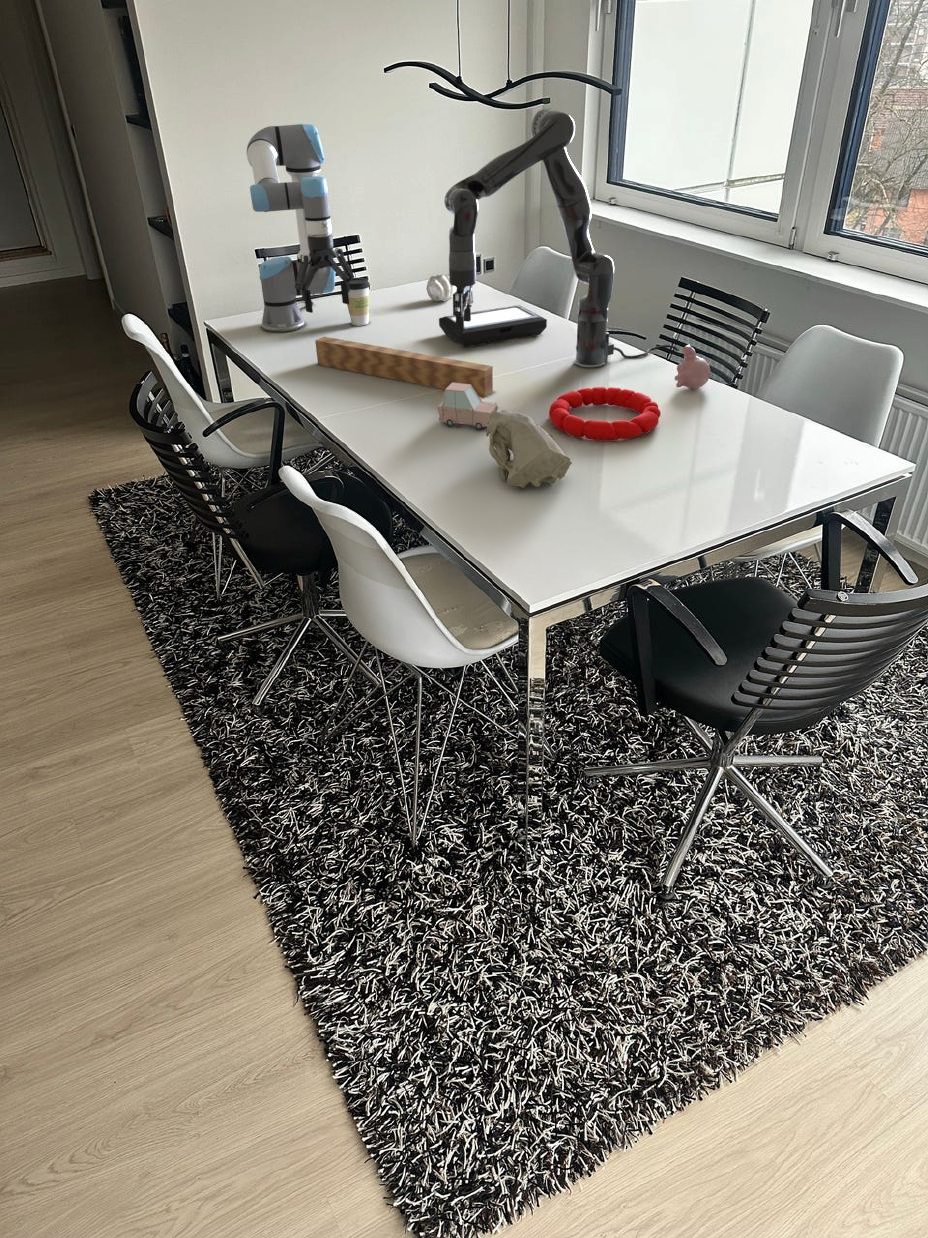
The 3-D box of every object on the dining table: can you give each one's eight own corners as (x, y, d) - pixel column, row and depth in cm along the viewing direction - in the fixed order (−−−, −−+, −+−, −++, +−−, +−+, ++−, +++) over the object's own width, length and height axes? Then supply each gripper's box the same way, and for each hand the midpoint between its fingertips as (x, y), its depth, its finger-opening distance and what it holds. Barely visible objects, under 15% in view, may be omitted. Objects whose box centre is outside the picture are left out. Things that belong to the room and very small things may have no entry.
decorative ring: (589, 435, 224) (684, 402, 234) (527, 398, 247) (617, 369, 256) (589, 461, 229) (683, 427, 238) (529, 422, 251) (617, 393, 260)
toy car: (488, 432, 240) (488, 396, 234) (436, 426, 244) (434, 390, 239) (499, 419, 247) (499, 384, 241) (448, 413, 252) (447, 379, 246)
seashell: (419, 300, 350) (418, 274, 344) (453, 294, 355) (452, 268, 350) (431, 306, 342) (430, 279, 336) (465, 300, 348) (465, 273, 342)
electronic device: (462, 330, 295) (438, 315, 310) (462, 349, 298) (439, 333, 313) (546, 317, 305) (520, 303, 320) (546, 335, 309) (520, 320, 324)
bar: (318, 364, 291) (315, 340, 286) (326, 360, 294) (324, 336, 289) (485, 397, 262) (484, 370, 258) (492, 392, 265) (492, 365, 261)
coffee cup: (372, 326, 323) (368, 283, 314) (345, 327, 323) (340, 284, 315) (374, 318, 331) (371, 276, 322) (348, 319, 331) (344, 277, 323)
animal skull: (496, 517, 219) (521, 479, 201) (463, 429, 225) (484, 384, 207) (557, 503, 225) (586, 465, 206) (523, 417, 231) (549, 373, 212)
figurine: (665, 387, 264) (669, 347, 257) (693, 380, 268) (698, 340, 261) (686, 396, 257) (690, 355, 250) (714, 388, 262) (720, 348, 255)
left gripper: (290, 242, 257) (300, 317, 268) (361, 229, 270) (367, 301, 282) (276, 239, 262) (287, 313, 273) (346, 226, 275) (353, 297, 286)
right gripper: (469, 272, 241) (470, 333, 250) (481, 260, 252) (481, 318, 262) (442, 271, 243) (444, 331, 252) (455, 259, 254) (456, 317, 263)
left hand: (328, 307), depth 277 cm, fingers open, 13 cm apart
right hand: (463, 325), depth 257 cm, fingers open, 8 cm apart
